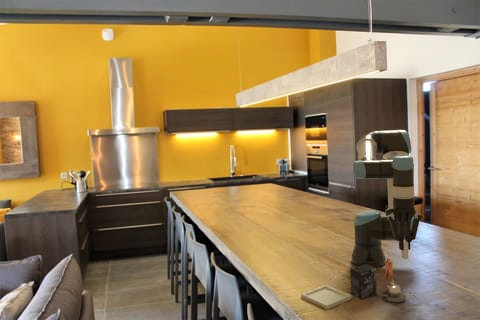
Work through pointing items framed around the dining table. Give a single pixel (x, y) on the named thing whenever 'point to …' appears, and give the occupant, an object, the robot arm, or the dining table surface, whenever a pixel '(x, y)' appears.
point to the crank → (391, 281)
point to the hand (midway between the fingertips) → (404, 258)
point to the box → (363, 281)
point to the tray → (326, 296)
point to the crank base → (394, 298)
